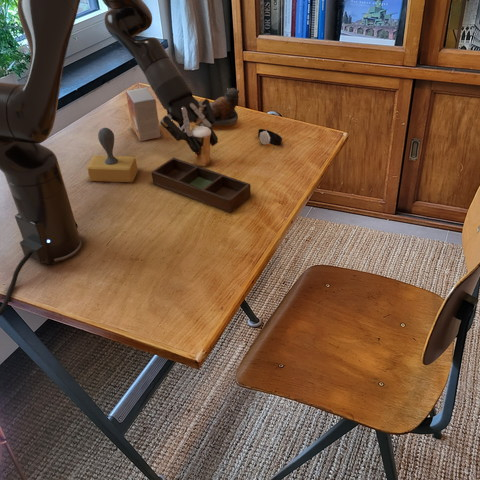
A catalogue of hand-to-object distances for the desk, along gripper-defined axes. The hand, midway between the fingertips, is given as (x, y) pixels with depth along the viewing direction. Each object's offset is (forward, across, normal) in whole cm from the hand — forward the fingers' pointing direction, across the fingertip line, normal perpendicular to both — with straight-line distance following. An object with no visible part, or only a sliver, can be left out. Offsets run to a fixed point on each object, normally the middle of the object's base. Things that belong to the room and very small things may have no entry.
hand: (207, 147), depth 136 cm
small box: (-14, 0, +21) cm, 25 cm away
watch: (+6, +18, +1) cm, 19 cm away
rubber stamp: (-6, -18, +13) cm, 23 cm away
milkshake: (+2, 0, +5) cm, 5 cm away
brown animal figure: (-6, +16, +13) cm, 22 cm away
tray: (+8, -8, -2) cm, 12 cm away
